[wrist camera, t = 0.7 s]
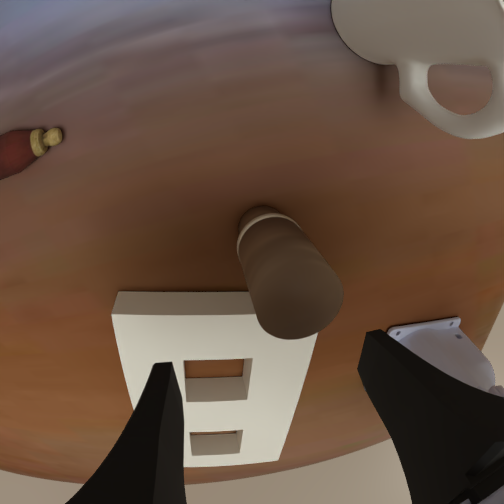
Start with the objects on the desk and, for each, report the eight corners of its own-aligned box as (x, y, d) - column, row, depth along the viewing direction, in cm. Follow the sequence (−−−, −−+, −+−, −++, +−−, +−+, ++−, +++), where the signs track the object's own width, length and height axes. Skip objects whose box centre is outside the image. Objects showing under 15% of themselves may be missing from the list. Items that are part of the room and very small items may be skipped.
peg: (294, 200, 19) (353, 263, 12) (286, 255, 21) (332, 336, 14) (233, 197, 18) (260, 264, 11) (229, 254, 20) (251, 342, 13)
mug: (321, -36, 13) (451, -124, 2) (413, -13, 14) (556, -42, 3) (330, 117, 17) (493, 159, 7) (420, 122, 18) (574, 171, 8)
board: (311, 290, 22) (323, 311, 20) (273, 441, 31) (278, 460, 29) (118, 291, 20) (111, 314, 18) (152, 447, 28) (152, 466, 26)
